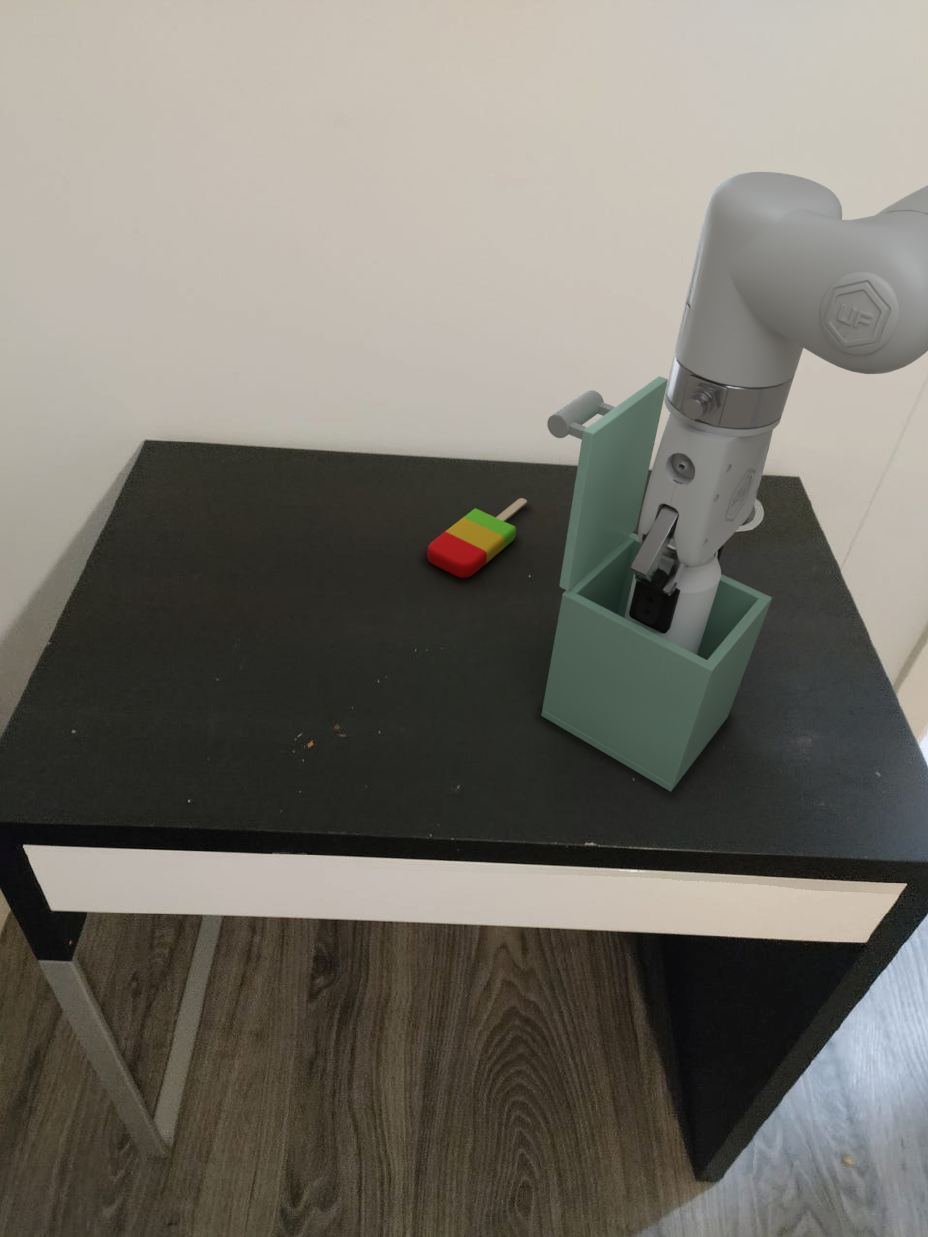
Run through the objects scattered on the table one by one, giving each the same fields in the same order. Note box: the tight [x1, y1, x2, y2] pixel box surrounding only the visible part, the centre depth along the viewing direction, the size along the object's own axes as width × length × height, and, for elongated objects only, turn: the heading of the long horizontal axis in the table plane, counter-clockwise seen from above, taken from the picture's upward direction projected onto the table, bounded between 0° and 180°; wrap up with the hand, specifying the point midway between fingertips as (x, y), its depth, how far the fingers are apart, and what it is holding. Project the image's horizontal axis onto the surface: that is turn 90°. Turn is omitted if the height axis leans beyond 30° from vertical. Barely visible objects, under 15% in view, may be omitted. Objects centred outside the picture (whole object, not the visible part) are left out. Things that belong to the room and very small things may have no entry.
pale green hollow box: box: [540, 532, 773, 792], centre depth 76 cm, size 13×11×14 cm
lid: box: [547, 375, 669, 591], centre depth 70 cm, size 14×11×5 cm
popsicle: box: [426, 497, 528, 579], centre depth 98 cm, size 6×15×2 cm, turn 145°
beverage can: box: [624, 538, 722, 655], centre depth 72 cm, size 6×6×12 cm
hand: (671, 598), depth 71 cm, fingers closed on beverage can, 6 cm apart
